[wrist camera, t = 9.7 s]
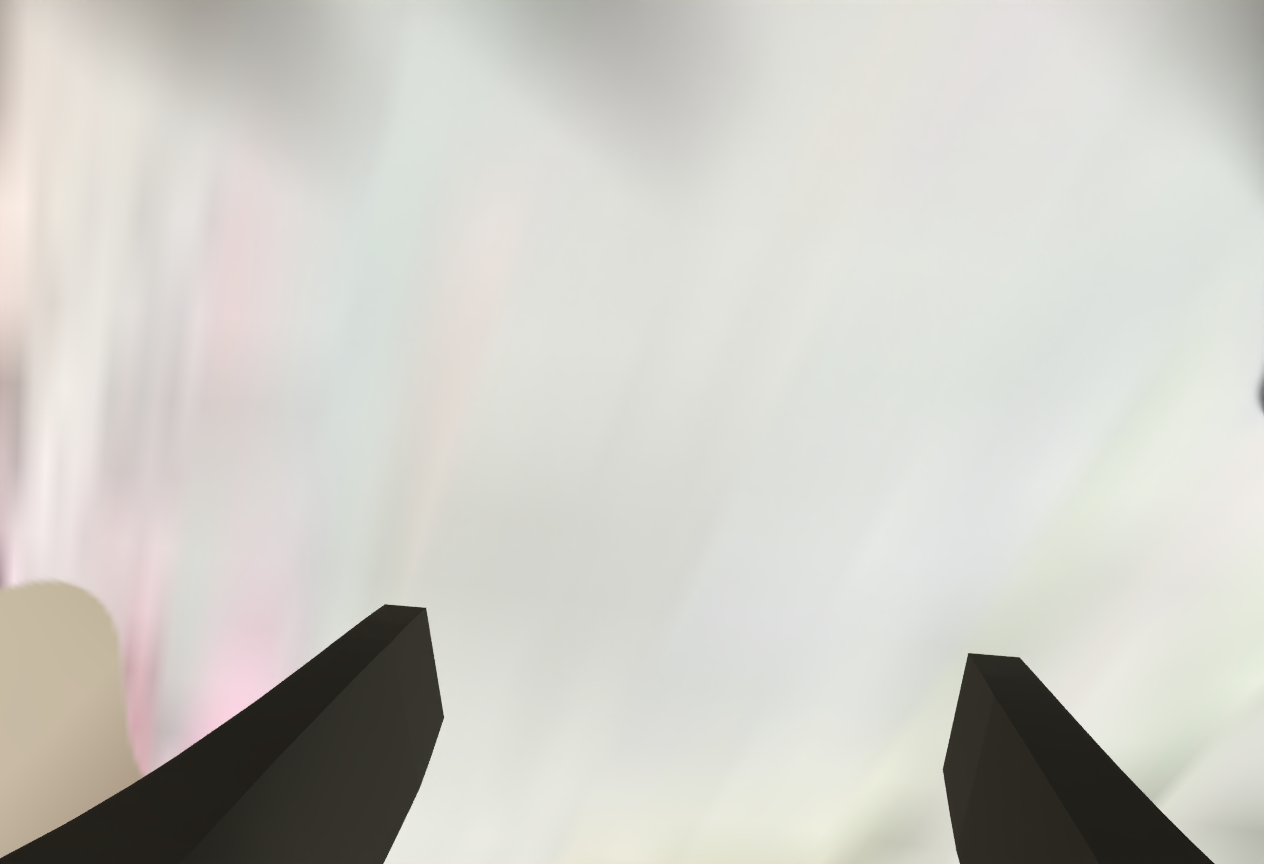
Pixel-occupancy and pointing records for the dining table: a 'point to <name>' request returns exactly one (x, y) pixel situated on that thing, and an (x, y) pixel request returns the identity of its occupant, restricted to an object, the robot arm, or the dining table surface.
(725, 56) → the dining table surface
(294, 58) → the dining table surface
